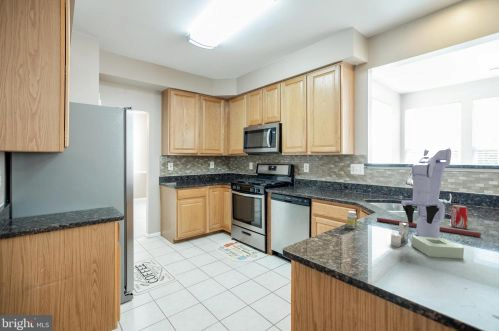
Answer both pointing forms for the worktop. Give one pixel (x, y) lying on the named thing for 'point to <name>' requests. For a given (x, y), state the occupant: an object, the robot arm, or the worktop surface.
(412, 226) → the rolling pin
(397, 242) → the short pin
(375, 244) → the worktop surface
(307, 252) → the worktop surface
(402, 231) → the long pin
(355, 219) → the supplement bottle
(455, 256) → the hole block
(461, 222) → the soda can
